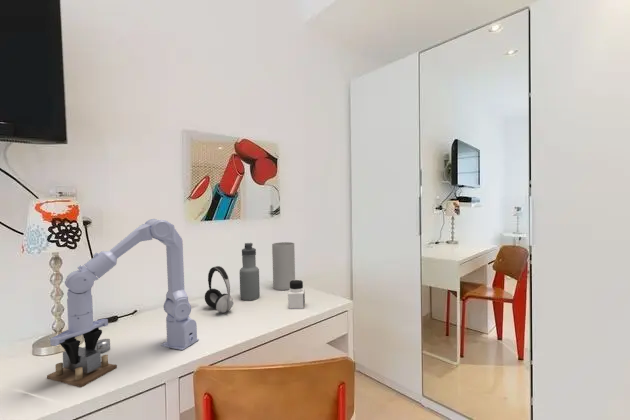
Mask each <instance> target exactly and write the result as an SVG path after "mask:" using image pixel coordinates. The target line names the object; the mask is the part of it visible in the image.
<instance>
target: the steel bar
mask: <svg viewBox="0 0 630 420" xmlns="http://www.w3.org/2000/svg"><path fill="white" fill-rule="evenodd" d="M101 354H102V353H100V351H97V350H92V349H87V348H83V346H79V351H78V363H77V364H71V362H70V359H69V357H68V355H67V353H66V351H65V350H64V351H62V363H63V368H66V369H71V370H75V369H76V368H78V367H82V369H83V373H87V374H88V373H89V372H91V371H93V370H95V369H97V368H99V367H101V356H102V355H101Z"/></svg>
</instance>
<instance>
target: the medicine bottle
mask: <svg viewBox="0 0 630 420" xmlns="http://www.w3.org/2000/svg"><path fill="white" fill-rule="evenodd" d="M303 283H304V281H302V280H300V279H295V280H292V281H290V290H288V293H287V302H288V303H287V304H288V305H287V307H288V309H289V310H290V309H291V310H292V309H305V305H306V298H305V296H306V295H305V293H306V292H305V289H304V287H303V286H304V285H303Z"/></svg>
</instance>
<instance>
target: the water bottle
mask: <svg viewBox="0 0 630 420" xmlns="http://www.w3.org/2000/svg"><path fill="white" fill-rule="evenodd" d="M253 246H254V245H253V243H252V242H244V247H243V248H242V249H241V256H242V257H241V259H242V267H241V268H240V269H239V298H240V299H241V300H243V301H255V300H257V299H259V298H260V295H261V294H260V292H261V290H260V268H259V267H257V265H256V263H257V262H256V261H257V260H256V257H257V256H256V255H257V250H256V248H255V247H253Z"/></svg>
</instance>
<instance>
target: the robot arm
mask: <svg viewBox="0 0 630 420" xmlns="http://www.w3.org/2000/svg"><path fill="white" fill-rule="evenodd" d="M153 239H155V240H157V241H158V242H160V243H161V244H163V245H164V246H165V248H166V249H165V250H166V251H165V252H166V273H167V275H166V276H167V292H166V294H165V301H164V303H163V311H164V312H165V313H166V314H167V315H166V319H165V323H166V327H165V328H166V341H165V342H164V343H161V344H160V346H161V347H165V348H170V349H175V350H181V351H183V350H185V349H187V348H189V347H190V346H191V345H193V344H195V343H196V342H198V341H199V338H198V328H197V327H198V326H197V320H195V319H193V318H191V317H190V315H191V312H192V305H191V304H190V301H189V296H188V294H187V292H186V290H185V271H184V270H185V268H184V267H185V266H184V246H183V245H184V244H183V238H182V236H181V235H180V234H179V232H178V231H177V229H176V228H175V225H174V224H173V223H171V222H169V221H168V220H166V219H156V218H152V219H148V220H147V221H145V222H144V223H142V224H141V225H139V226H138V227H136V228H135V229H133V231H132V232H130V233H129V234H128V235H127V236H125V237H124V238H123V239H121V240H120V241H119V242H118V243H117V244H116V245H114V246H113V247H112V248H110V250H108V251H107V250H102V251H100V252H95V253H93V255H92V256H93V257H92V258H91V259H90V260H88V261H87V262H85V263H84V264H82V265H78V266H77V269H78V270H77V269H76V270H73V271H71V272H69V273H68V275H67V276H66V278H65V281H64V285H65V286H66V288H67V295H66V296H67V298H66V306H67V307H66V308H67V309H66V310H67V325H68V326H67V329H66V330H64V331H63V332H61V333H59V334H56V335H55V336H53V337H51V338H49V339H50V340H49V341H50V343H49V344H50V346H51V347H57V346H59V345H60V346H61V347H62V348H63V350H64V352H65V351H66V353H67V355H68V357H69V359H70V362H71V364H77V363H78V351H79V347H80V344H81V340H78V339H77V337H80V336H83V340H84V341H83V342H84V347H85V348H87V349H92V350H95V347H96V344H97V341H98V340H100V337H101V335H102V334H103V330H102V329H101V328H102V327H107V326H109V319H108V318H100V319H98V320H94V311H93V310H94V309H93V307H94V305H93V295H92V288H93V287H94V283H95V281H98V280H99V279H100V278H102V277H103V276H104V275H105V274H107V273H108V272H109V271H110V270H112V269H113V268H114V267H116V266H117V262H118V259H119V258H120V257H122V255H124V254H125V253H127V252H128V251H130V250H131V249H132V248H134V247H135V246H136V245H137V244H139V243H140V242H146V241H152V240H153Z"/></svg>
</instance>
